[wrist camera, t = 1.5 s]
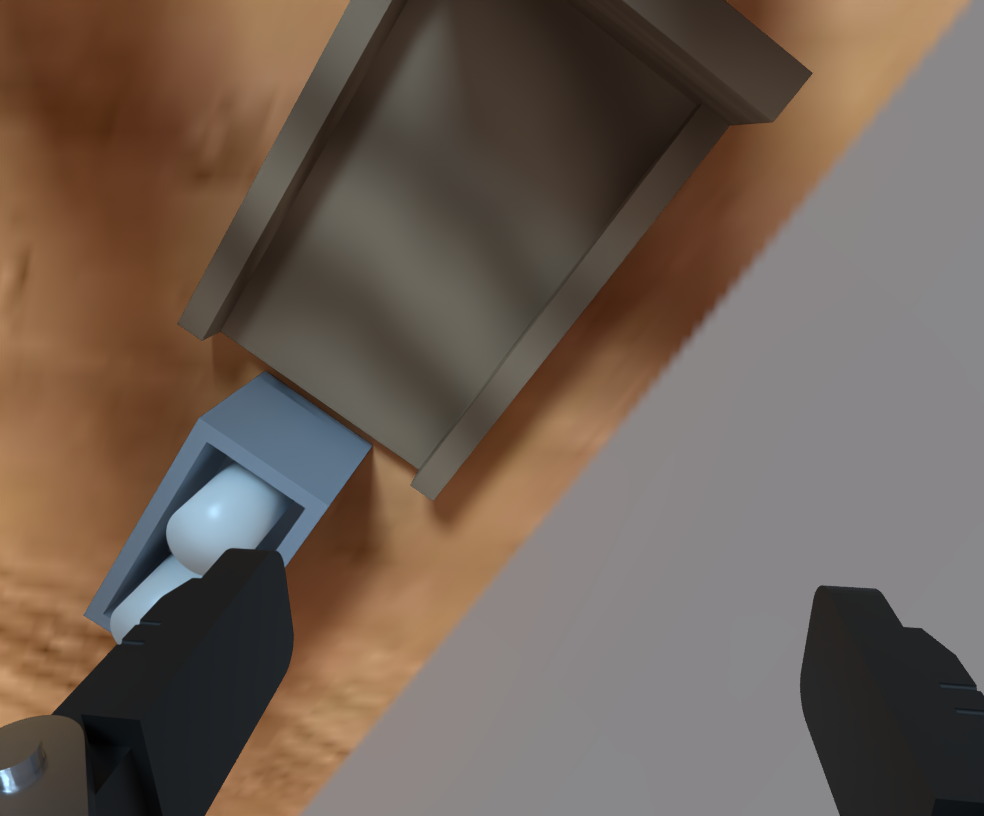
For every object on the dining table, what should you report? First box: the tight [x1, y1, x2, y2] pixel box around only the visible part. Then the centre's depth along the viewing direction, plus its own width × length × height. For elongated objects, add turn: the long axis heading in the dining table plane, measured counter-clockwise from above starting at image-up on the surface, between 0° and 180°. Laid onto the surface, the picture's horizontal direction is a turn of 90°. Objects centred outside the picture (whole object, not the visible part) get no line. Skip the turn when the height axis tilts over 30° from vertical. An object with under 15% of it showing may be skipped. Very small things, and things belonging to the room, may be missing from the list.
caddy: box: [84, 371, 373, 644], centre depth 32 cm, size 12×6×8 cm, turn 145°
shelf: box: [177, 0, 813, 501], centre depth 25 cm, size 20×13×9 cm, turn 144°
